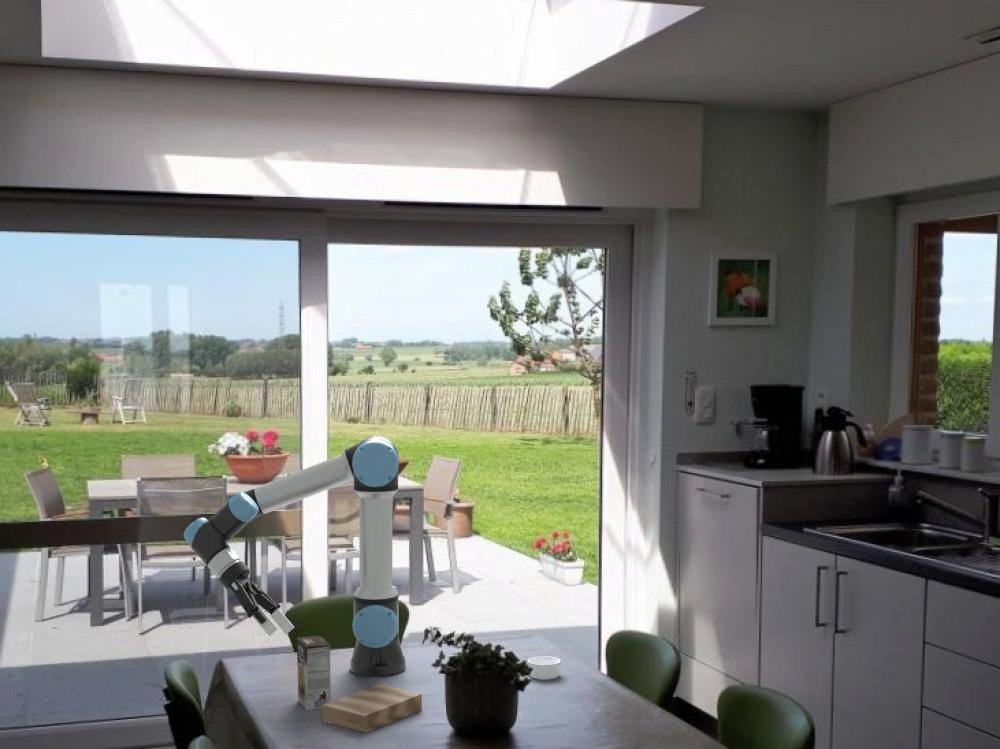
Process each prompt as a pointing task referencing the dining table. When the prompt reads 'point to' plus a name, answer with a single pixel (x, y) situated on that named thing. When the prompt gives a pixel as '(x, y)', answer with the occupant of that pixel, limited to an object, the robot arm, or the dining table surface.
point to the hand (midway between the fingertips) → (282, 631)
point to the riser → (372, 707)
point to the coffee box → (313, 672)
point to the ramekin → (544, 667)
